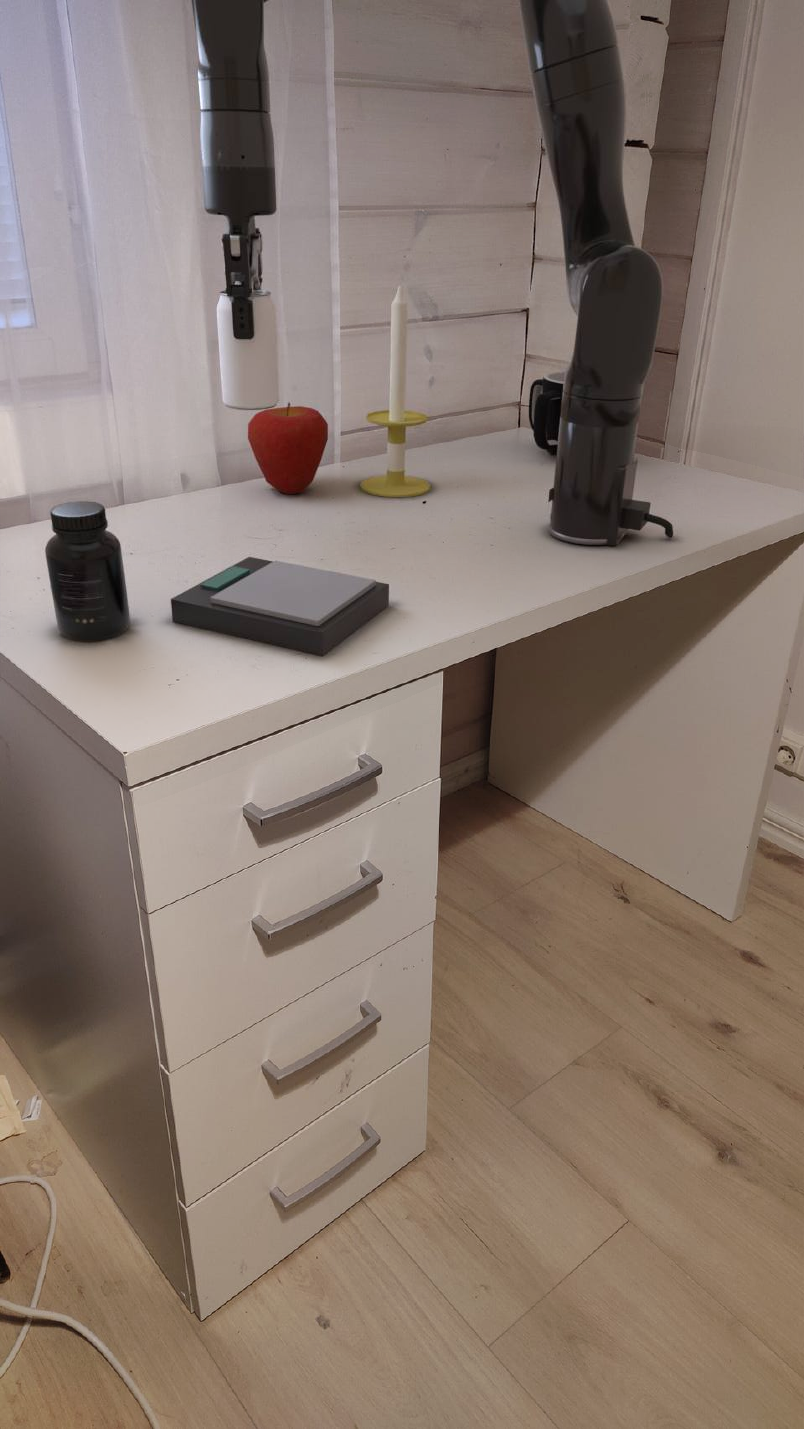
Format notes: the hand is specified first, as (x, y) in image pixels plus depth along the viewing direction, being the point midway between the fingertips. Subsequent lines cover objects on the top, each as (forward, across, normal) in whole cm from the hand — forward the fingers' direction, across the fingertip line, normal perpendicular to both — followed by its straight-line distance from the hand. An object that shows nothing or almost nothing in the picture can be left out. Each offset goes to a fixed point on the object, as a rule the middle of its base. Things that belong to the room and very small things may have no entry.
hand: (247, 333), depth 112 cm
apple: (+24, +20, -2) cm, 31 cm away
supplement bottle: (+23, -28, +13) cm, 39 cm away
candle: (+24, +22, -17) cm, 37 cm away
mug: (+24, +43, -47) cm, 68 cm away
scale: (+23, -24, -5) cm, 34 cm away
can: (+8, 0, 0) cm, 8 cm away
